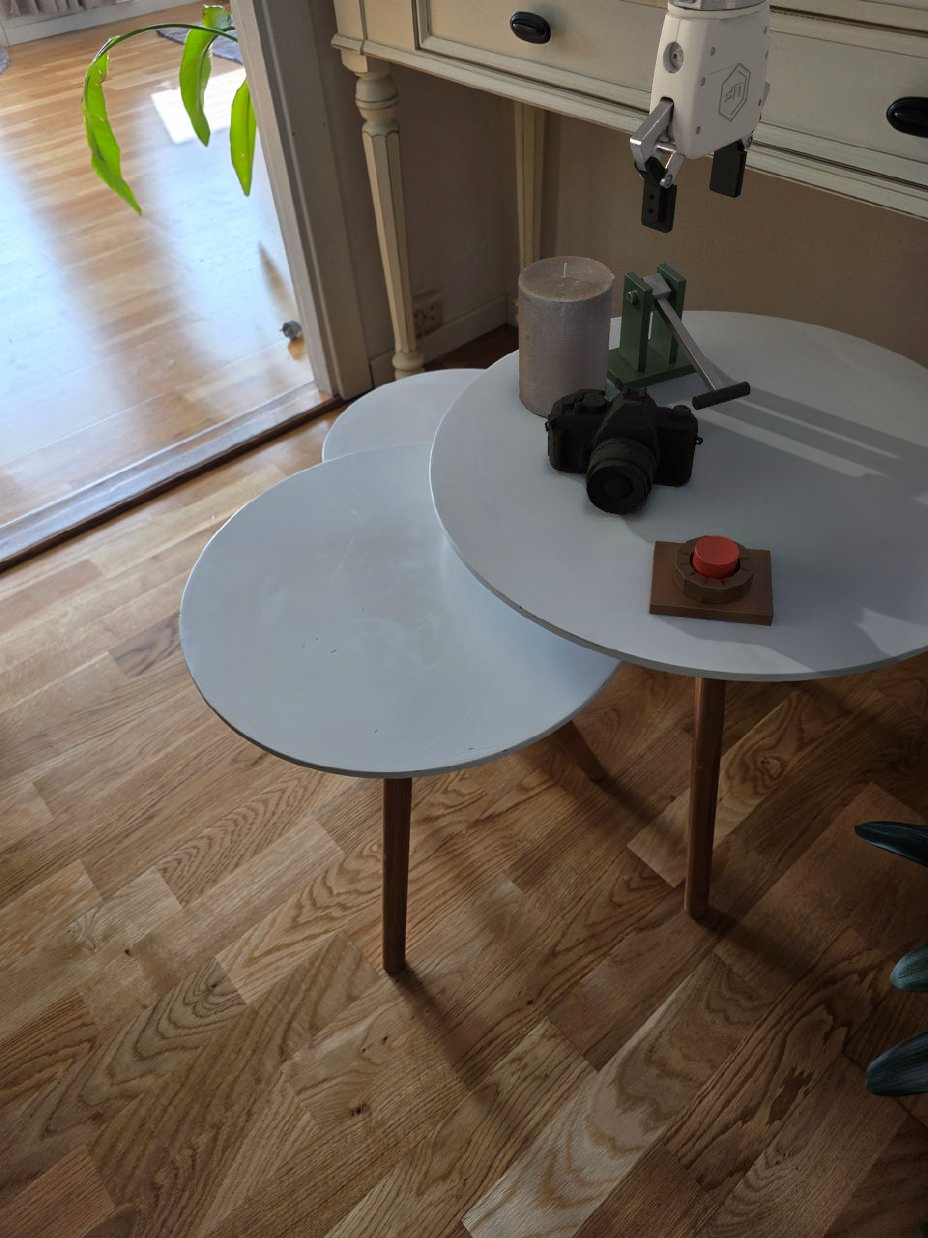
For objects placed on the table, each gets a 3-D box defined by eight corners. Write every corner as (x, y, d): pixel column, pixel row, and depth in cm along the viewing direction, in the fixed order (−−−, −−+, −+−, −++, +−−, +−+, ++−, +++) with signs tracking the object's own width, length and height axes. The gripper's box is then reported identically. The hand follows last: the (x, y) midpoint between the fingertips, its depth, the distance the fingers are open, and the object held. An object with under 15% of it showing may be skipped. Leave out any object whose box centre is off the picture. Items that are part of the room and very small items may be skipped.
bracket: (700, 370, 99) (714, 278, 91) (622, 392, 97) (629, 301, 89) (668, 342, 104) (679, 252, 96) (593, 363, 101) (597, 273, 94)
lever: (746, 401, 89) (754, 385, 87) (695, 416, 88) (702, 400, 86) (669, 285, 96) (675, 268, 94) (620, 298, 95) (625, 281, 92)
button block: (767, 560, 78) (774, 534, 75) (770, 625, 72) (778, 600, 70) (654, 550, 79) (657, 525, 77) (648, 613, 74) (652, 588, 72)
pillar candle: (515, 375, 101) (512, 247, 90) (599, 367, 101) (606, 238, 90) (524, 423, 94) (522, 291, 83) (613, 415, 94) (623, 282, 83)
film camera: (530, 506, 85) (529, 428, 78) (552, 447, 91) (553, 371, 84) (687, 528, 81) (700, 449, 75) (700, 466, 87) (713, 388, 81)
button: (735, 552, 75) (739, 537, 74) (736, 581, 73) (739, 566, 71) (692, 548, 76) (695, 533, 74) (691, 577, 73) (694, 562, 72)
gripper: (685, 17, 62) (661, 255, 74) (826, -34, 69) (782, 191, 81) (606, 2, 66) (596, 230, 78) (746, -44, 73) (716, 171, 85)
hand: (691, 210), depth 80 cm, fingers open, 9 cm apart
